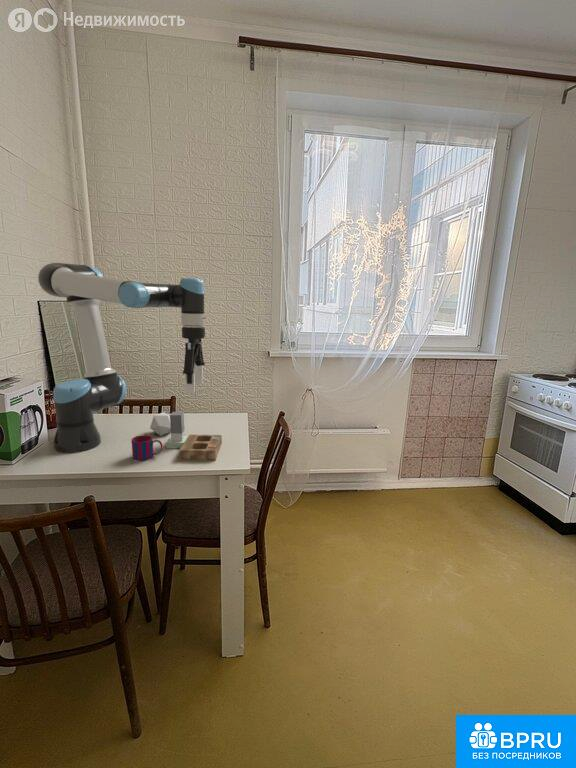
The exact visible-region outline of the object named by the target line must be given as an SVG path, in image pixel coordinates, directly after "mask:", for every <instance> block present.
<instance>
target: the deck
mask: <svg viewBox="0 0 576 768" xmlns="http://www.w3.org/2000/svg"><path fill="white" fill-rule="evenodd" d="M188 436H189V435H185V438H184V439H183V441H171V436H169V438H168V439H167V440H166V441H165V448H166V449H181V447H182V446H183V444H184V442H185V441H186V439H187V438H188Z"/></svg>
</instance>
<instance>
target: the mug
mask: <svg viewBox="0 0 576 768" xmlns="http://www.w3.org/2000/svg"><path fill="white" fill-rule="evenodd" d="M156 442H157V443H159V445H160V449H159V451H157V452H154V443H156ZM163 446H164V445H163V443H162V441H161V440H159V439H153V436H151V435H149V434H148V435H147V434H144V435H143V434H142V435H136V436H134V437H132V438H131V453H132V459H133V461H136V462H145V461H149V460H152V459H153V458H154V456H155V455H158V454H159V453H161V452H162V451H163Z"/></svg>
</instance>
